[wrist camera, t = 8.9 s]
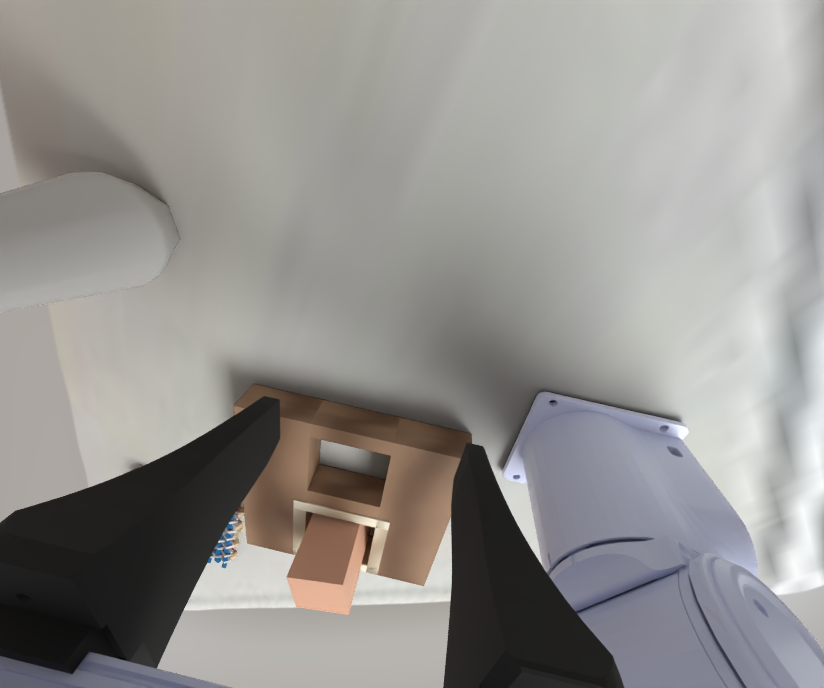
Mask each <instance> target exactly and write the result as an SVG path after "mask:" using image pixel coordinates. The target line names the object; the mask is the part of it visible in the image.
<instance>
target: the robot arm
mask: <svg viewBox="0 0 824 688" xmlns="http://www.w3.org/2000/svg"><path fill="white" fill-rule="evenodd" d="M551 400H556V401H555V402H553V403H550V401H551ZM663 425H665V426H664V427H661V426H663ZM688 432H689V428H688V427H687V426H686V425H685V424H684V423H682V422H678V421H673V420H669V419H665V418H660V417H656V416H651V415H647V414H642V413H638V412H634V411H629V410H625V409H620V408H616V407H611V406H607V405H603V404H598V403H594V402H589V401H585V400H581V399H576V398H572V397H567V396H563V395H558V394H554V393H550V392H541V393H539V394H538V395H537V396H536V399H535V401H534V403H533V405H532V407H531V409H530V412H529V414H528V416H527V418H526V420H525V422H524V425H523V427H522V429H521V431H520V433H519V435H518V438H517V440H516V442H515V444H514V446H513V449H512V451H511V453H510V455H509V457H508V459H507V462H506V464H505V466H504V468H503V471H502V473H503V477H504V478H505V479H508V480H512V481H516V482H521V483H525V484H527V485H528V490H529V496H530V501H531V506H532V512H533V517H534V522H535V527H536V533H537V538H538V543H539V549H540V554H541V559H542V565H543V567H542V565H541V563H540V562H539V560H538V559H537V557H536V556H535V554H534V553H533V551H532V549H531V548H530V546H529V544H528V543H527V541H526V539H525V537H524V536H523V534H522V532H521V530H520V528H519V527H518V525H517V523H516V521H515V519H514V517H513V515H512V513H511V511H510V509H509V507H508V505H507V503H506V501H505V499H504V496H503V494H502V492H501V490H500V488H499V485H498V483H497V481H496V478H495V476H494V473H493V471H492V468H491V466H490V463H489V460H488V457H487V455H486V452H485V449H484V447H483V446H479V445H475V444H471V443H466V446H465V449H464V451H463V454H462V457H461V460H460V462H459V465H458V468H457V471H456V473H455V476H454V479H453V489H452V501H451V534H452V589H451V605H450V618H449V630H448V644H447V654H446V665H445V676H444V687H443V688H824V649H823V648H822V646H821V645H820V644H819V643H818V642H817V641H816V640H815V638H814V637H813V636H812V634H811V633H810V632H809V631H808V630H807V628H806V627H805V626H804V625H803V624H802V623H801V621H800V620H799V619H798V618H797V617H796V616H795V615H794V614H793V613H792V611H791V610H790V609H789V608H788V607H787V606H786V605H785V604H784V603H783V602H782V601H781V600H780V599H779V598H778V597H777V596H776V595H775V594H774V593H773V592H772V591H771V590H770V589H769V588H768V587H767V586H766V585H765V584H764V583H763V582H761V581H760V580H759V579H758V578H757V576H758V566H757V559H756V554H755V550H754V546H753V543H752V540H751V537H750V535H749V532H748V531H747V529H746V527H745V525H744V523H743V522H742V520H741V519H740V517H739V516H738V514H737V513H736V512H735V510H734V509H733V508H732V506H731V505H730V504H729V502H728V501H727V500H726V498H725V497H724V496H723V494H722V493H721V492H720V490H719V489H718V488H717V486H716V485H715V484H714V482H713V481H712V480H711V478H710V477H709V476H708V474H707V473H706V472H705V470H704V469H703V468H702V466H701V465H700V464H699V462H698V461H697V460H696V458H695V457H694V456H693V454H692V453H691V452H690V450H689V449H688V448H687V446H686V445H685V444H684V442H683V441H682V440H683V439H684V437H685V436H686V435H687V434H688ZM279 440H280V399H276V398H271V397H267V396H263V397H262V398H260V399H259V400H257V401H256V402H254V403H253V404H251V405H249V406H248V407H246V408H245V409H243V410H242V411H240V412H239V413H237V414H236V415H234V416H233V417H231V418H230V419H228V420H227V421H225V422H223V423H222V424H220V425H219V426H217V427H216V428H214V429H212V430H211V431H209V432H207V433H206V434H204V435H202V436H200V437H199V438H197V439H195V440H194V441H192V442H190V443H188V444H187V445H185V446H183V447H181V448H179V449H177V450H175V451H173V452H172V453H170V454H168V455H165V456H163V457H161V458H159V459H157V460H155V461H153V462H151V463H149V464H146V465H144V466H142V467H139V468H137V469H135V470H132V471H130V472H128V473H125V474H123V475H121V476H118V477H116V478H113V479H111V480H108V481H105V482H103V483H100V484H97V485H95V486H92V487H89V488H86V489H84V490H81V491H78V492H75V493H72V494H69V495H66V496H63V497H60V498H57V499H53V500H50V501H47V502H43V503H40V504H37V505H34V506H30V507H27V508H24V509H20V510H17V511H15V512H13V513H12V514H11V515H9V516H8V517H7V518H6V519H4V520H3V521H2V522H1V523H0V688H231V687H228V686H223V685H220V684H216V683H212V682H207V681H204V680H200V679H196V678H192V677H187V676H183V675H180V674H176V673H172V672H168V671H164V670H160V669H157V666H158V664H159V662H160V659H161V657H162V655H163V653H164V651H165V649H166V646H167V644H168V642H169V640H170V637H171V635H172V633H173V631H174V629H175V627H176V625H177V623H178V620H179V618H180V616H181V614H182V612H183V610H184V608H185V606H186V604H187V602H188V600H189V598H190V596H191V594H192V592H193V590H194V588H195V586H196V584H197V582H198V580H199V578H200V576H201V574H202V572H203V570H204V568H205V566H206V564H207V562H208V560H209V558H210V556H211V554H212V553H213V551H214V549H215V547H216V545H217V543H218V541H219V540H220V538H221V536H222V534H223V532H224V530H225V528H226V527H227V525H228V524H229V522H230V520H231V519H232V517H233V515H234V514H235V512H236V511H237V509H238V508H239V506H240V505H241V503H242V502H243V500H244V499H245V497H246V496H247V494H248V493H249V491H250V490H251V488H252V487H253V485H254V484H255V482H256V481H257V479H258V478H259V476H260V475H261V473H262V472H263V470H264V469H265V467H266V465H267V464H268V462H269V460H270V458H271V456H272V454H273V453H274V451H275V448H276V446H277V444H278V442H279Z"/></svg>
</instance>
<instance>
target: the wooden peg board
mask: <svg viewBox="0 0 824 688" xmlns="http://www.w3.org/2000/svg"><path fill="white" fill-rule="evenodd" d="M263 396H267V397H271V398H276V399H280V440H279V442H278V444H277V446H276V448H275V451H274V453H273V454H272V456H271V458H270V460H269V462H268V464H267V465H266V467H265V469H264V470H263V472H262V473H261V475H260V476H259V478H258V479H257V481H256V482H255V484H254V485H253V487H252V488H251V490H250V491H249V493H248V494H247V496H246V497H245V499H244V500H243V506H244V516H245V526H246V536H247V543H248V544H252V545H256V546H260V547H264V548H268V549H272V550H277V551H281V552H285V553H289V554H293V555H296V553H297V551H298V549H299V546H300V544H301V541H302V539H303V537H304V534H305V532H306V529H307V527H308V525H309V522H310V520H311V517H312V515H313V513H316V514H320V515H324V516H329V517H333V518H337V519H341V520H345V521H350V522H354V523H358V524H362V525H366V526H371V527H375V532H374V537H372V536H368V540H367V544H366V548H365V552H364V556H363V560H362V564H361V568H360V571H363V572H368V573H372V574H376V575H380V576H384V577H388V578H392V579H397V580H401V581H405V582H409V583H413V584H417V585H421V586H424V584H425V582H426V579H427V577H428V574H429V571H430V569H431V566H432V564H433V561H434V559H435V556H436V553H437V551H438V548H439V546H440V543H441V540H442V538H443V535H444V533H445V530H446V528H447V525H448V522H449V520H450V517H451V501H452V489H453V479H454V476H455V473H456V471H457V468H458V465H459V462H460V460H461V457H462V454H463V451H464V449H465V446H466V443H471V444H472V434H470V433H465V432H461V431H456V430H452V429H448V428H443V427H439V426H435V425H430V424H426V423H422V422H417V421H413V420H409V419H404V418H400V417H396V416H391V415H387V414H383V413H378V412H374V411H370V410H365V409H361V408H357V407H352V406H348V405H343V404H339V403H335V402H330V401H326V400H322V399H317V398H313V397H309V396H304V395H300V394H296V393H291V392H287V391H283V390H278V389H274V388H270V387H265V386H261V385H257V384H253V385H252V386H251V387H250V388H249V389H248V390H247V391H246V393H245V394H244V395H243V396H242V397H241V398H240V399H239V400H238V401H237V403H236V404H235V405H234V415H236V414H237V413H239V412H240V411H242V410H243V409H245V408H246V407H248V406H249V405H251V404H253V403H254V402H256V401H257V400H259V399H260V398H262V397H263ZM321 440H325V441H330V442H334V443H338V444H343V445H347V446H351V447H355V448H360V449H364V450H368V451H373V452H377V453H381V454H386V455H390V456H391V458H390V463H389V467H388V472H387V477H386V480H384V479H380V478H375V477H371V476H367V475H363V474H358V473H354V472H350V471H346V470H341V469H337V468H333V467H328V466H324V465H320V464H319V460H320V445H321Z"/></svg>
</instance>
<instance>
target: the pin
mask: <svg viewBox="0 0 824 688" xmlns="http://www.w3.org/2000/svg"><path fill="white" fill-rule="evenodd" d="M370 528H371V526H366V525H362V524H358V523H354V522H350V521H345V520H341V519H337V518H333V517H329V516H324V515H320V514H316V513H313V515H312V517H311V520H310V522H309V525H308V527H307V529H306V532H305V534H304V537H303V539H302V541H301V544H300V546H299V549H298V551H297V553H296V556H295V558H294V561H293V563H292V565H291V568H290V570H289V573H288V575H287V580H288V583H289V586H290V589H291V592H292V595H293V598H294V601H295V604H296V607H300V608H306V609H313V610H320V611H327V612H334V613H341V614H346V615H349V612H350V608H351V604H352V600H353V596H354V592H355V588H356V584H357V580H358V576H359V572H360V568H361V564H362V560H363V556H364V552H365V548H366V544H367V540H368V536H369V532H370Z"/></svg>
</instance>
